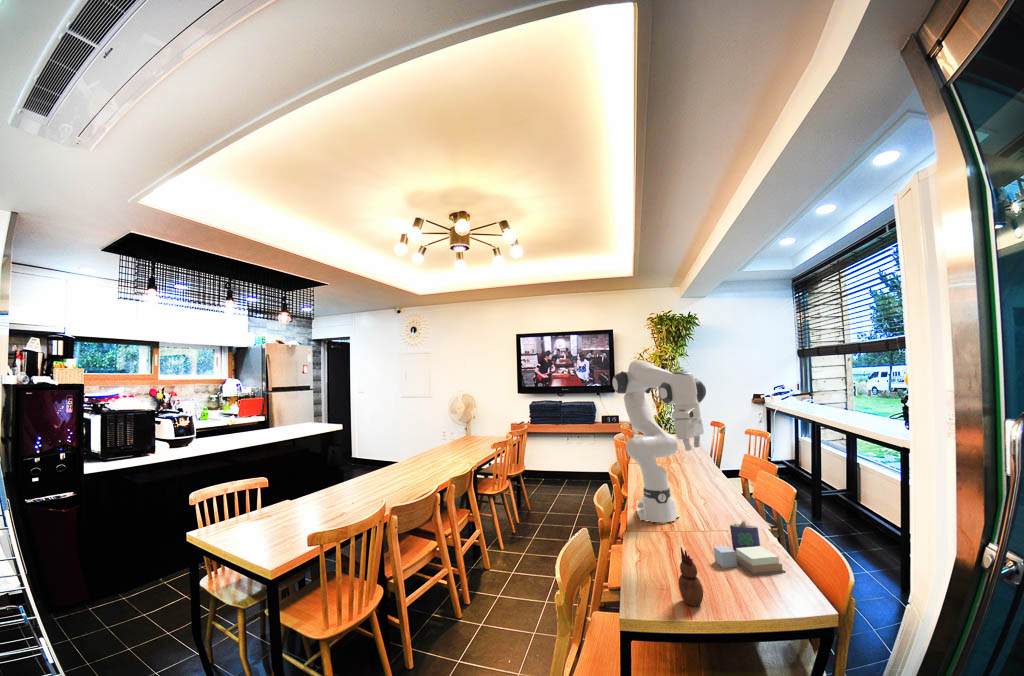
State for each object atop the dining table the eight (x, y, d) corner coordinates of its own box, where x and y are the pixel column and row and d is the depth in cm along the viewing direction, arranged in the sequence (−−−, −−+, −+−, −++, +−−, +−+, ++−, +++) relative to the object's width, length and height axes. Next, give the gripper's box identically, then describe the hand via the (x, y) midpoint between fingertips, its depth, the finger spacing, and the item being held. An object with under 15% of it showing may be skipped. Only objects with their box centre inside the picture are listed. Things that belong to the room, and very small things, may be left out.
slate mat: (733, 561, 142) (733, 559, 142) (763, 558, 143) (763, 557, 143) (753, 575, 131) (752, 574, 131) (785, 572, 132) (785, 571, 132)
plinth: (735, 560, 142) (733, 547, 142) (762, 557, 142) (761, 545, 143) (753, 573, 132) (751, 559, 132) (782, 570, 132) (780, 556, 133)
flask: (760, 550, 149) (756, 520, 150) (762, 553, 146) (757, 523, 148) (732, 548, 152) (728, 519, 154) (733, 551, 150) (729, 521, 151)
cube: (715, 561, 143) (713, 546, 143) (728, 560, 143) (727, 545, 144) (723, 568, 138) (721, 552, 138) (737, 566, 138) (735, 551, 139)
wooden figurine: (677, 598, 121) (671, 545, 122) (695, 596, 121) (689, 543, 123) (688, 610, 114) (682, 554, 116) (708, 608, 114) (701, 552, 116)
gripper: (688, 411, 167) (693, 445, 164) (669, 414, 152) (674, 452, 149) (704, 410, 162) (710, 445, 160) (686, 414, 147) (692, 452, 145)
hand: (692, 448), depth 155 cm, fingers open, 8 cm apart
